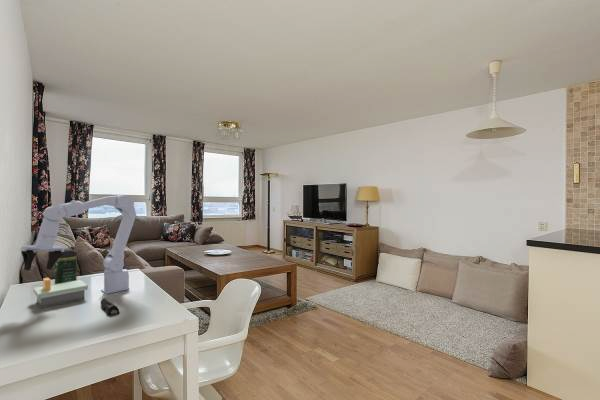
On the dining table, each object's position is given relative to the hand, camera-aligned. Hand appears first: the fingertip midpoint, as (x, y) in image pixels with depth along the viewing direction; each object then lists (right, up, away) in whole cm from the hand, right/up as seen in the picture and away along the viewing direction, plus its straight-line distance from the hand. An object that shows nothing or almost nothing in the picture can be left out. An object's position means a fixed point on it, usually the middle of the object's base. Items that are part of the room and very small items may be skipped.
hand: (38, 269), depth 118 cm
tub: (+5, -14, +6) cm, 16 cm away
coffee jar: (-6, -14, +22) cm, 27 cm away
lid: (+5, -10, +6) cm, 12 cm away
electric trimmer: (+31, -15, -4) cm, 34 cm away
